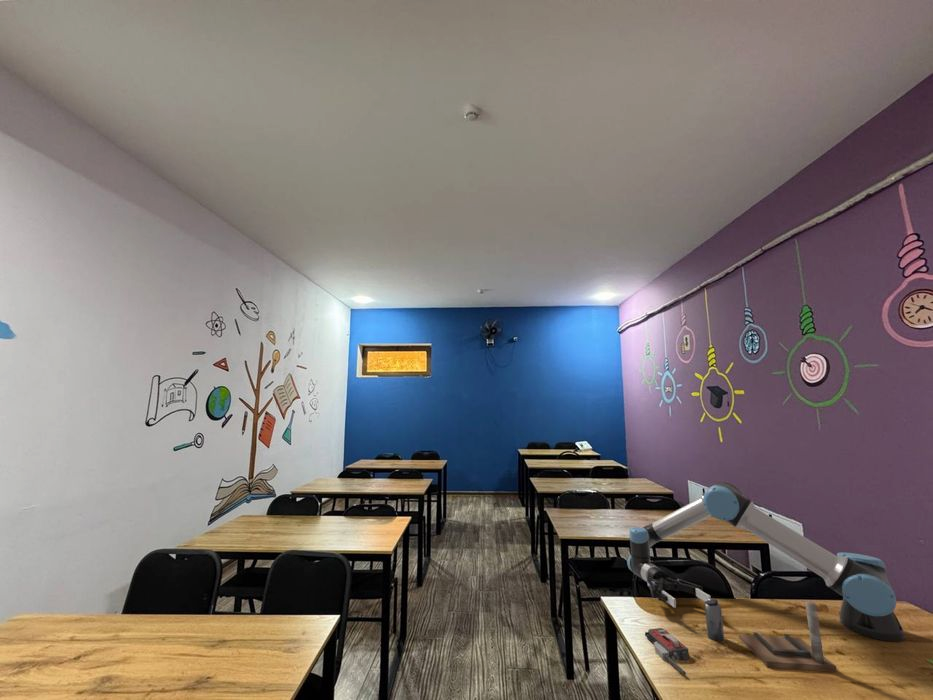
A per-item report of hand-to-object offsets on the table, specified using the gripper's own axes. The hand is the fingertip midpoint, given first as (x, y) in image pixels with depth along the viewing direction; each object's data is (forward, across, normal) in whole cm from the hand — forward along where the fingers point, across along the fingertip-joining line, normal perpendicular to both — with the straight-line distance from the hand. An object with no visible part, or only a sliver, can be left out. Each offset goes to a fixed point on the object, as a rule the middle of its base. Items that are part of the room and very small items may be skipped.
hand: (692, 602), depth 135 cm
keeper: (+20, -14, -6) cm, 25 cm away
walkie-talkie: (+15, +20, -7) cm, 26 cm away
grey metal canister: (+10, 0, -6) cm, 12 cm away
